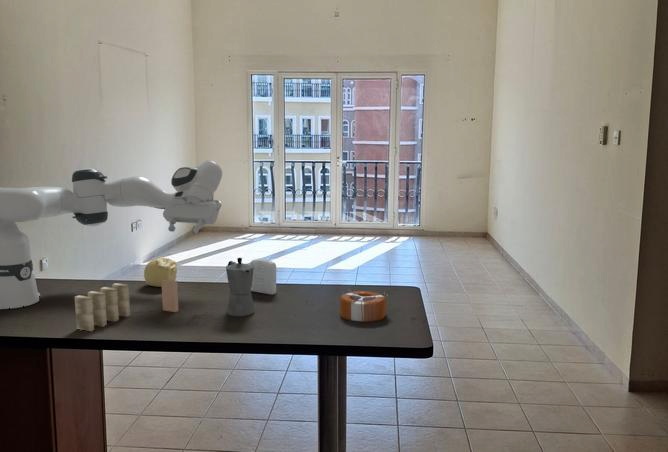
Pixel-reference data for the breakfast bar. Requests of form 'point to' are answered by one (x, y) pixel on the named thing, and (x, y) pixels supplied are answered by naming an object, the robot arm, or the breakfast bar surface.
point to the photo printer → (264, 276)
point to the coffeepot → (240, 288)
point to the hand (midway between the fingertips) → (182, 231)
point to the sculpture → (160, 271)
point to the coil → (363, 306)
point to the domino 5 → (170, 295)
